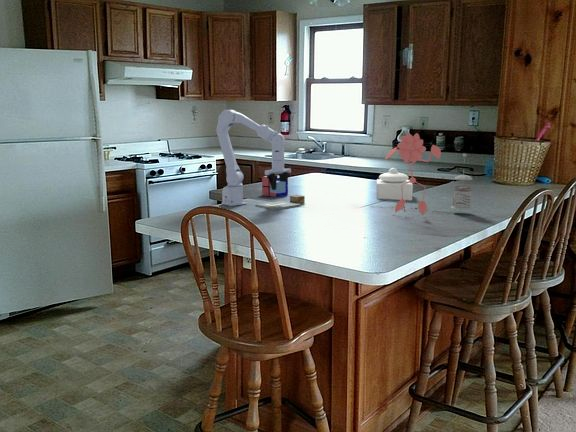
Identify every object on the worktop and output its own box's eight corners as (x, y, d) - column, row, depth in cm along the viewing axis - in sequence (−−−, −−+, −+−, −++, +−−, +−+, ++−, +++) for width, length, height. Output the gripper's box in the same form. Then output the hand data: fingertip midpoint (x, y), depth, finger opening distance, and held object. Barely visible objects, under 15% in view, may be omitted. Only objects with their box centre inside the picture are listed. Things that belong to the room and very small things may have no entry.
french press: (473, 210, 262) (477, 154, 257) (447, 209, 264) (450, 154, 259) (471, 206, 271) (474, 153, 267) (446, 205, 274) (448, 152, 269)
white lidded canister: (410, 196, 303) (411, 166, 300) (412, 202, 285) (413, 169, 282) (376, 195, 305) (377, 165, 302) (376, 201, 288) (377, 169, 285)
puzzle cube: (276, 197, 300) (276, 178, 298) (261, 195, 306) (261, 176, 304) (288, 195, 307) (288, 176, 306) (273, 193, 313) (273, 174, 312)
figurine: (388, 209, 263) (390, 131, 257) (443, 215, 249) (447, 133, 242) (372, 214, 251) (374, 133, 245) (429, 221, 236) (433, 134, 230)
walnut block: (296, 205, 276) (296, 197, 275) (289, 204, 279) (289, 195, 279) (304, 204, 279) (304, 196, 278) (298, 202, 282) (298, 194, 282)
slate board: (275, 210, 261) (274, 208, 261) (255, 206, 271) (255, 204, 271) (300, 206, 272) (300, 204, 272) (281, 202, 282) (281, 200, 282)
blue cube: (277, 193, 267) (277, 182, 266) (270, 192, 271) (270, 181, 270) (285, 192, 270) (285, 181, 269) (278, 191, 274) (278, 180, 273)
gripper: (271, 161, 260) (271, 191, 262) (295, 159, 269) (295, 188, 272) (261, 160, 265) (262, 189, 268) (285, 158, 275) (285, 187, 277)
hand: (278, 189), depth 270 cm, fingers closed on blue cube, 5 cm apart
